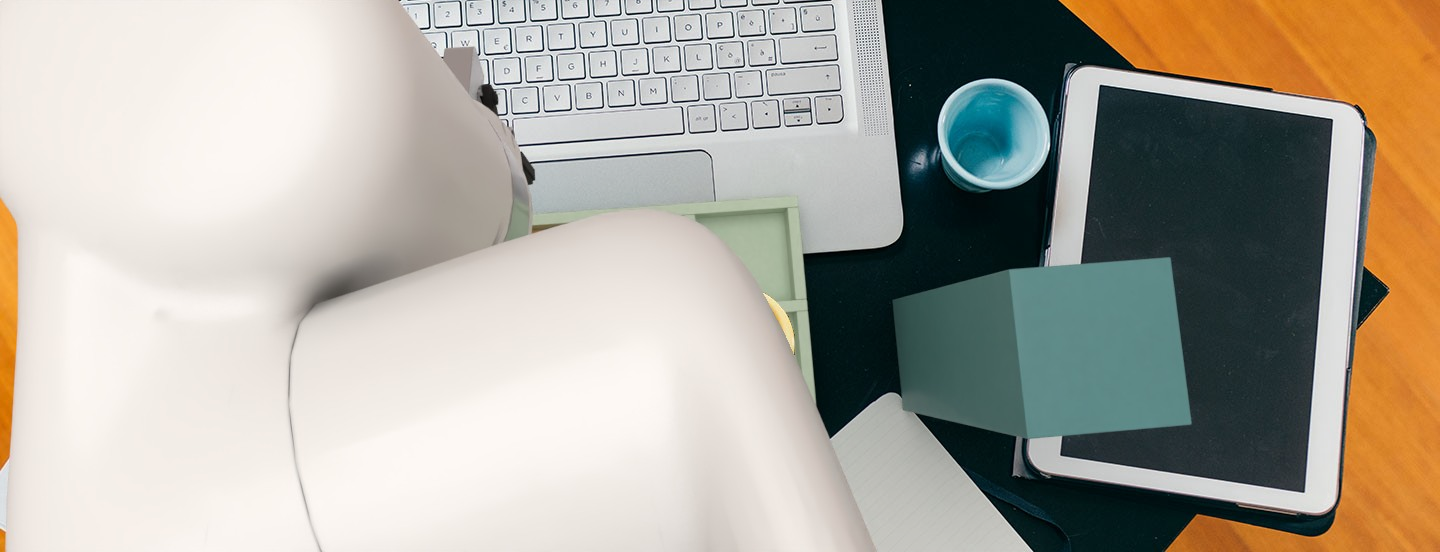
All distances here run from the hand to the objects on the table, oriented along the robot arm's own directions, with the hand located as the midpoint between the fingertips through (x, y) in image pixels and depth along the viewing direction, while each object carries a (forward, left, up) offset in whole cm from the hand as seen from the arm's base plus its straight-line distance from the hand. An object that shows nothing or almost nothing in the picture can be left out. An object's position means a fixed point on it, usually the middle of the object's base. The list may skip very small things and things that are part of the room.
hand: (510, 274), depth 43 cm
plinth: (-6, -28, -19) cm, 34 cm away
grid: (-2, -6, -19) cm, 20 cm away
